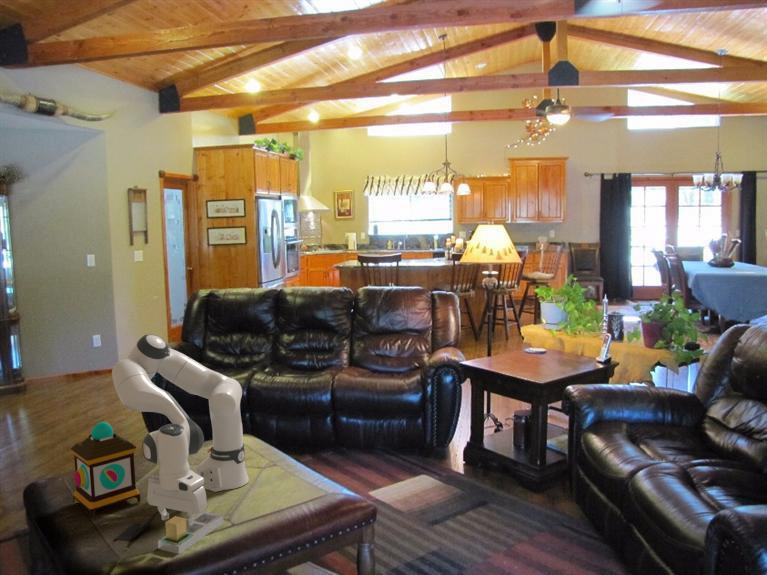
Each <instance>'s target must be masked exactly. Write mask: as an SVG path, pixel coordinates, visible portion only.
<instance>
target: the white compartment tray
mask: <svg viewBox="0 0 767 575" xmlns="http://www.w3.org/2000/svg"><path fill="white" fill-rule="evenodd" d="M223 523H224V515H221V514H217V513H213V512H208V511H203V512H201V513H200V514H196V515H195V517H194V523H193V525H191V526H189V525H186V531H187V537H186V538H185V539H183V540H182V541H180V542H179V543H175V542H170V541H166V535H164V536H163V537H161V538H160V539H159V540H158V541H157V549H158V550H162V551H164V552H169V553H174V554H177V555H179V554H182V552H184V551H185V550H186V549H189V548H190V547H191V546H192V545H193V544H195V543H197V542H199V540H201V539H202V538H204V537H206V535H208V534H209V533H211V532H213V531H214V530H215V529H216V528H218V527H219V526H221V525H222V524H223Z"/></svg>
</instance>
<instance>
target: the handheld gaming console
mask: <svg viewBox="0 0 767 575" xmlns="http://www.w3.org/2000/svg"><path fill="white" fill-rule="evenodd" d="M158 513H159V511H156V512H155V513H154V514H153V515H151V517H149V518H148V519H147V520H146V521H145V522H143V523H137V522H133V523H132V524H131V525H130V526H128V527H127V528H126V529H125V530H124V531H123V530H122V532H121V533H119V535H117V536H116V537H114V539H113V541H114V542H117V541H123V542H124V541H125V542H132V541H133V540H134V539H135V538H136V537H138V535H139V534H141V533H142V532H143V531H144V530H145V529H147V528H148V527H149V526H150V525H151V524H152V522H153V521H154V519H155V518H156V517H157V515H158Z"/></svg>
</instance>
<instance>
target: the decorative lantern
mask: <svg viewBox="0 0 767 575" xmlns="http://www.w3.org/2000/svg"><path fill="white" fill-rule="evenodd" d="M70 451H71V453H72V454H73V456H74V469H75V471H74V473H73V474H74V475H73V477H74V483H75V485H76V486H75V490H74V493H73V495H72V500H73V504H74V503H78V504H81V506H83V507H84V508H85V509H87V510H88V513H89V514H88V515H89V517H90V519H94V518H95V513H96V511H97V510H100V509H103V508H106V507H109V506H112V505H116V504H118V503H122V502H124V501H127V500H131V499H134V500H135V503H136V504H140V502H141V493H140V491H139V489H138V488H137V486H136V471H135V470H136V469H135V453H136V451H137V446H135V445H134V444H133V442H130V441H128V440H127V439H125V438H123V437H122V436H120V435H118V434H117V433H114V429H113V426H112V425H111V424H109V423H108V422H106V421H100V422H98V423H97V424H96V425H95V426H94V427H93V428H92V429H91V434H90V435H88V437H86V438H85V439H84V440H82V441H78V442H76V443H75V444H74V445H73V446H72V447H70Z"/></svg>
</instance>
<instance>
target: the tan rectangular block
mask: <svg viewBox="0 0 767 575" xmlns="http://www.w3.org/2000/svg"><path fill="white" fill-rule="evenodd" d="M186 520H187V518H185V517H180V516H176V515H174V516H173V517H172V518H169V519H168V520H166V521H165V536H166V541H170V542H175V543H179V542H180V541H182V540H183V539H185V538H186V537H187V531H186Z"/></svg>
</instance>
